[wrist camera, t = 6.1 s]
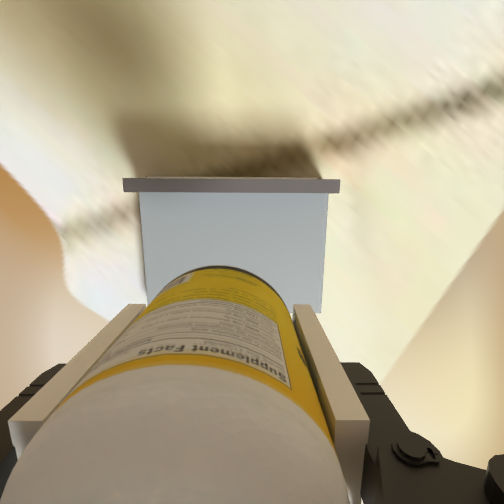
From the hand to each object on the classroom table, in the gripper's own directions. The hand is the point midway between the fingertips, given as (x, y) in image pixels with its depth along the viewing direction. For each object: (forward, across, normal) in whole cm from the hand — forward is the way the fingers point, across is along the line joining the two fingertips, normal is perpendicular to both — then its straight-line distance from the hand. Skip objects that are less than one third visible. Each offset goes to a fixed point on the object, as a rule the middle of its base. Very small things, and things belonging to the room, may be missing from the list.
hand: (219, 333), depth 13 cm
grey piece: (+15, 0, +1) cm, 15 cm away
